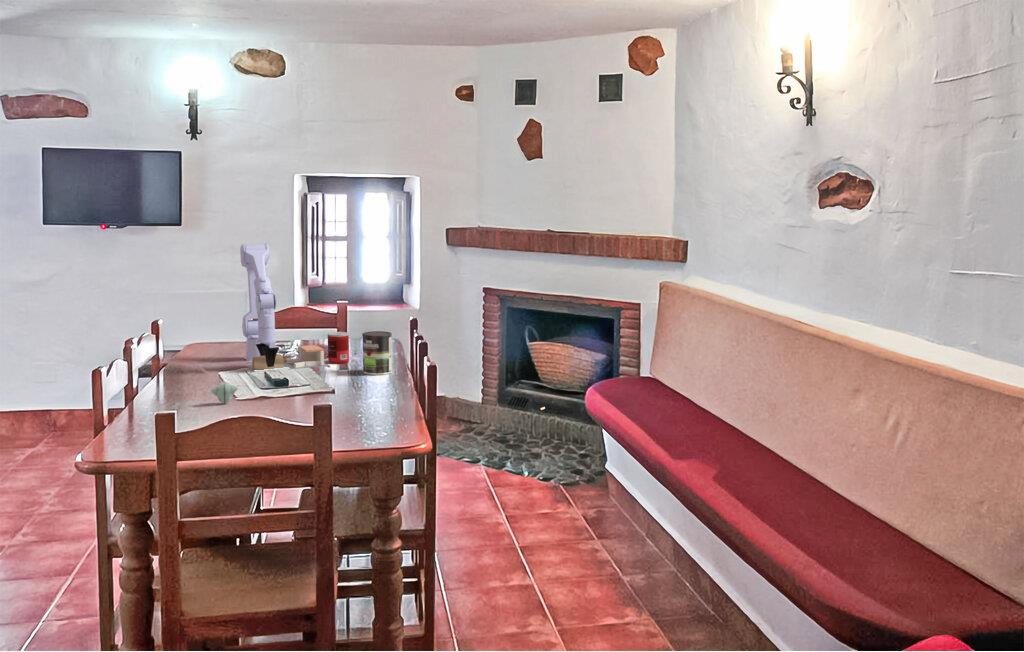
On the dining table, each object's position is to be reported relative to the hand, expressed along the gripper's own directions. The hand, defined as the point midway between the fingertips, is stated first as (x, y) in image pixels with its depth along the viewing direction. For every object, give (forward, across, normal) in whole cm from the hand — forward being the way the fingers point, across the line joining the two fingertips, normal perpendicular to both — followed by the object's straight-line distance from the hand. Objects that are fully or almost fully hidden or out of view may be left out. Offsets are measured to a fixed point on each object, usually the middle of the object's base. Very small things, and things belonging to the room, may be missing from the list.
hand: (267, 365), depth 330 cm
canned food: (+2, -4, +28) cm, 28 cm away
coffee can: (+2, +21, +34) cm, 40 cm away
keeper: (+2, -3, +8) cm, 9 cm away
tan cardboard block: (+1, 0, 0) cm, 1 cm away
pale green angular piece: (+2, +45, -24) cm, 51 cm away
